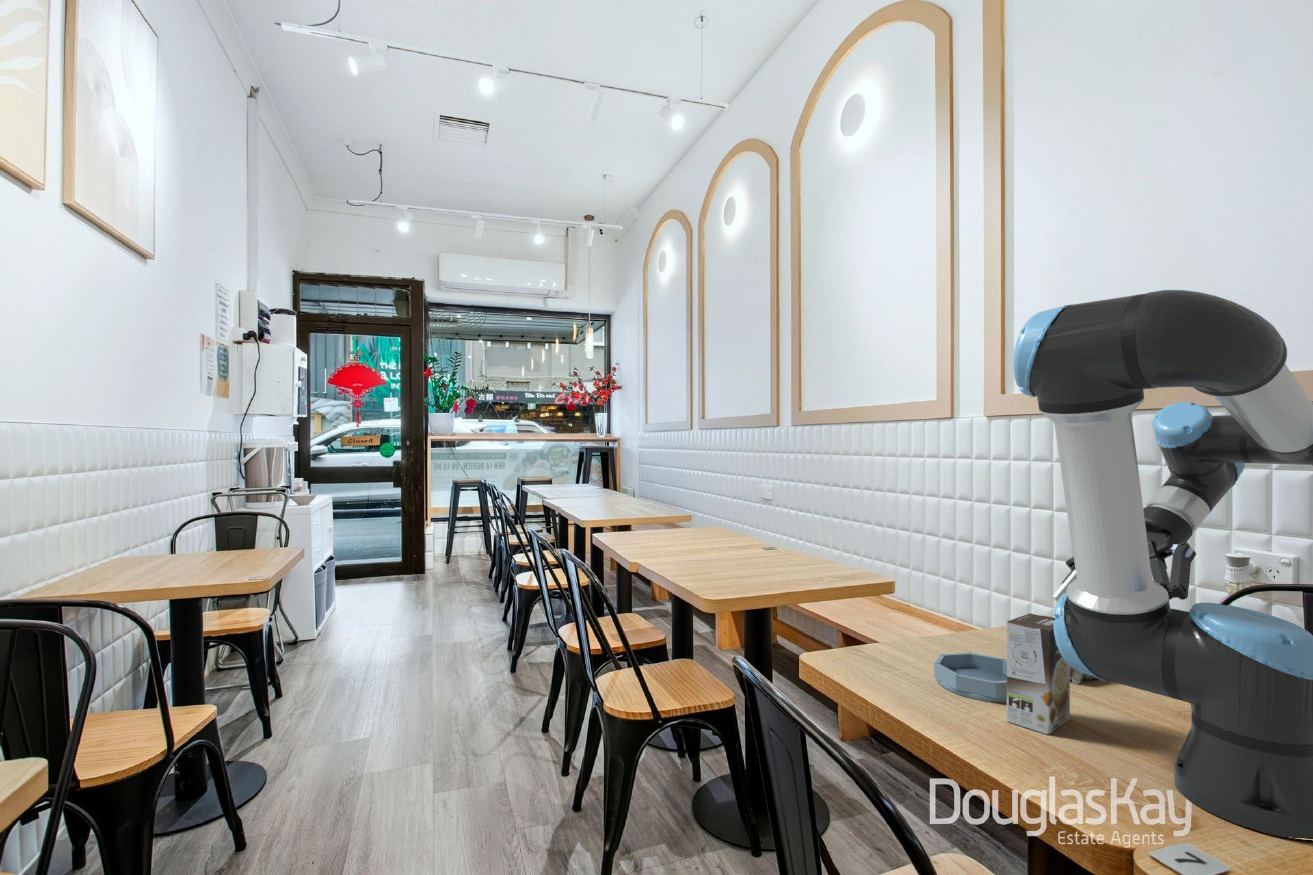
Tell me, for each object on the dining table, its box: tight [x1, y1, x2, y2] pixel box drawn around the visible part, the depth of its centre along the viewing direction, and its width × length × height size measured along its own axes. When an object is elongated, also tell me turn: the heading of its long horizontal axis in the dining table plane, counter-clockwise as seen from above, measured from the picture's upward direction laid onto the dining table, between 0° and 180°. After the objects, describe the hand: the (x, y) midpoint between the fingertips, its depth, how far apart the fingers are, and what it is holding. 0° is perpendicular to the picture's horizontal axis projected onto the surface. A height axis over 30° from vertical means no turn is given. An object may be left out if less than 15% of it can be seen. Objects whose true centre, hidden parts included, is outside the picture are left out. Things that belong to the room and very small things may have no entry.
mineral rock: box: [1070, 666, 1096, 685], centre depth 121 cm, size 15×8×4 cm, turn 111°
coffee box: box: [1006, 613, 1071, 735], centre depth 100 cm, size 9×6×16 cm
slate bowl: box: [933, 652, 1007, 704], centre depth 115 cm, size 15×15×4 cm
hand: (1092, 612), depth 102 cm, fingers open, 13 cm apart
